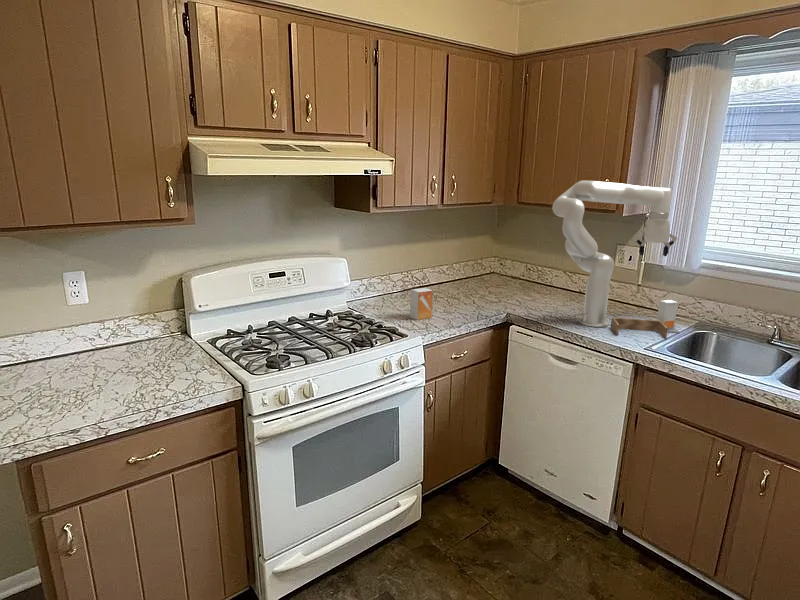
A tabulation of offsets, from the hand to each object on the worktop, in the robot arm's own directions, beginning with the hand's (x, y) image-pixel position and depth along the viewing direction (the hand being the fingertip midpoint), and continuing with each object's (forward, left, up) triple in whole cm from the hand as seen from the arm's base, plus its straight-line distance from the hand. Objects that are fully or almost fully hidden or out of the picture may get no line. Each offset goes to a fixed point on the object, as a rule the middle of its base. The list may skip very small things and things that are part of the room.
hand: (653, 255), depth 232 cm
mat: (+5, -12, -30) cm, 33 cm away
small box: (-101, -18, -31) cm, 107 cm away
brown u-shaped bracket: (-8, -21, -30) cm, 38 cm away
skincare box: (+5, -12, -30) cm, 33 cm away
